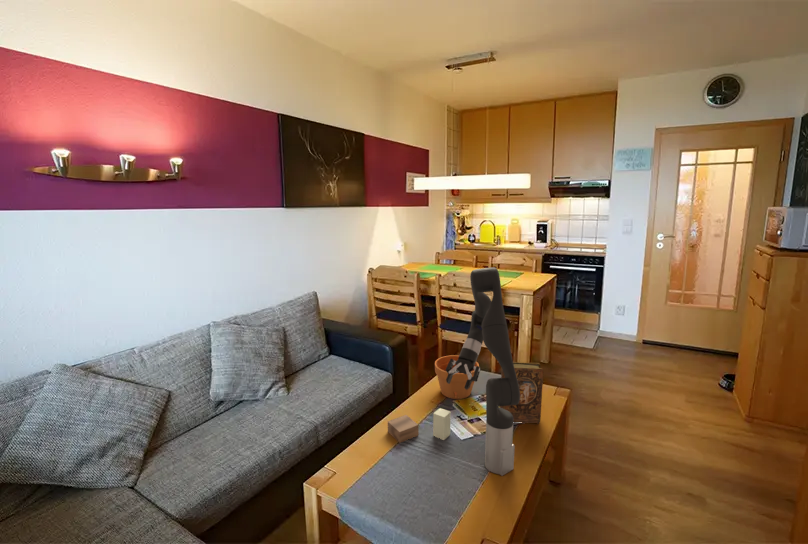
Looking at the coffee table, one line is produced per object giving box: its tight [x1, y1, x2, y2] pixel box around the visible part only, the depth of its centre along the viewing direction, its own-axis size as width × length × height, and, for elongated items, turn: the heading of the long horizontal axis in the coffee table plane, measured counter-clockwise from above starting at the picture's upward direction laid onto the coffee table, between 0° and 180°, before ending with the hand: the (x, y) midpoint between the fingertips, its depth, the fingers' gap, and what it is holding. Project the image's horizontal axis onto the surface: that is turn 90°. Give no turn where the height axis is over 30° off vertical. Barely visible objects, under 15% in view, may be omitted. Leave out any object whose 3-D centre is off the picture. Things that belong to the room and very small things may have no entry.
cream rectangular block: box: [432, 407, 452, 441], centre depth 164 cm, size 5×5×10 cm
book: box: [499, 361, 544, 425], centre depth 173 cm, size 16×6×25 cm, turn 84°
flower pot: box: [434, 354, 480, 400], centre depth 198 cm, size 21×21×15 cm
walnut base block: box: [387, 414, 420, 444], centre depth 166 cm, size 9×9×5 cm
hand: (456, 386), depth 171 cm, fingers open, 8 cm apart
